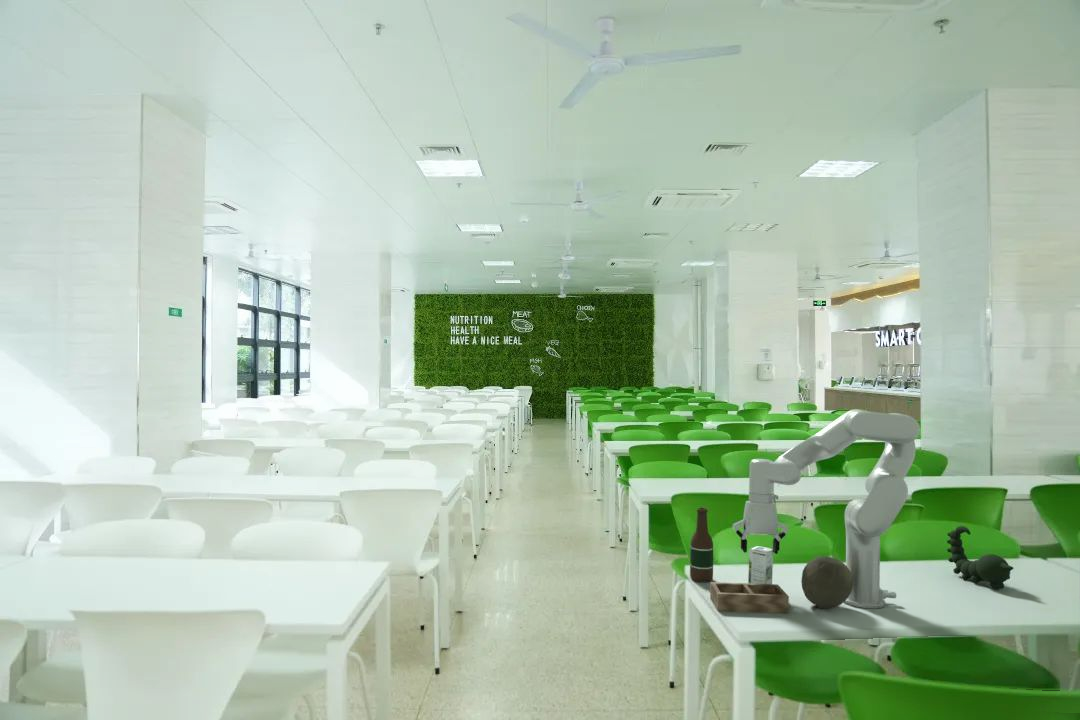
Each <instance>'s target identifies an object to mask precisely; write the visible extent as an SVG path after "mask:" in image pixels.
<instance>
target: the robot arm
mask: <svg viewBox="0 0 1080 720" xmlns="http://www.w3.org/2000/svg"><path fill="white" fill-rule="evenodd" d="M920 429H921V427H920V424H919V422H918V421H917V420H916V419H915V418H914V417H912V416H910V415H908V414H903V413H898V412H891V413H885V412H875V411H869V410H862V409H857V408H855V409H850V410H848V411H846V412H845V413H843V414H842V415H840V416H839V417H838V418H835V420H834V421H832V422H831V423H829V424H828V425H827V426H825V427H823V428H822V429H821V430H819V431H818V432H816V433H815V434H813V435H812V436H810V437H808V438H806V439H805V440H803V441H802V442H800V443H798V444H797V445H794V446H793V447H792V448H790V449H789V450H788V451H786V452H784V453H783V454H782V455H780V456H779V457H778V458H776V459H775V460H774V461H773V460H771V459H767V458H754V459H751V460H750V461H749V475H748V477H749V479H748V482H749V483H748V500H746V501H745V504H744V510H743V519H741V520H739V521H737V522H734V523H733V524H732V528H733V530H734V531H735V534H737V535H738V536H739V538H740V549H741V550H742V552H744V553H748V540H747V537H749V535H756V536H757V535H759V536H763V535H764V536H772V537H773V539H772V550H773V554H775V555H777V554H779V551H780V542H781V541H782V539H783V538H784V537H785V536H786V534H787V533H788V531H789V527H788V526H787V525H785V524H784V523H782V522H780V521H779V520H778V518H779V517H778V510H777V504H776V502H775V501H776V500H779V495H777V494H775V484H778V485H779V484H780V485H785V486H794V485H796V484H797V483H799V482H800V481H801V479H802V476H803V475H802V470H804V469H806V468H807V467H809V466H810V465H812V464H814V463H816V462H819V461H823V460H827V459H831V458H833V457H835V456H837V455H838V454H839V453H840V452H843V450H845V449H846V448H848V447H849V446H850V445H852V444H853V443H855V442H856V441H857V440H859V439H863V440H866V441H867V440H869V441H876V442H883V443H884V449H883V451H882V454H881V455H880V457H879V459H878V461H877V463H875V465H874V467H873V469H872V471H871V472H870V473H869V475H868V476H867V478H866V480H865V484H864V486H865V488H864V489H865V490H866V493H868V495H867V496H866V498H855V499H853V500H851V501H849V503H848V504H847V505H846V506H845V510H844V526H845V565H846V566H847V567H848V569H849V570H850V572H851V574H852V576H853V588H852V591H851V593H850V595H849V597H848V598H847V599H846V600H845V601H844V602H843V603H844V604H847V605H849V606H852V607H853V606H854V607H857V608H864V609H880V608H884V607H885V606H886V601H885V600H886V599H887V598H888V599H897V592H896V591H889V590H888V589H882V588H881V587H880V586H881V585H880V584H881V583H880V582H881V581H880V580H881V576H880V574H881V573H880V572H881V571H880V570H881V562H880V561H881V539H880V537H881V536H882V535H884V534H885V533H886V532H887V531H888V530H889V528H890V527H891V526H892V524H893V523H894V521H895V519H896V518H897V516H898V515H899V513H900V511H901V510H902V509H903V506H904V505H905V504H906V501H907V498H908V494H909V487H908V484H907V483H906V481H905V480H904V479H905V477H906V476H907V474H908V472H909V470H910V469H911V467H912V465H913V464H914V460H915V456H916V442H915V440H916V439H917V438H918V437H919V435H920V432H921V430H920ZM739 527H742V529H743V531H742V532H741V531H740V529H739ZM779 528H781V531H780V532H779ZM778 532H779V533H778Z"/></svg>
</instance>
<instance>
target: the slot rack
mask: <svg viewBox="0 0 1080 720" xmlns="http://www.w3.org/2000/svg"><path fill="white" fill-rule="evenodd" d="M709 583H710V587H709V588H710V589H709V599H710V601H711V602H712V604H713V606H714V607H715V610H716V611H717V612H741V613H765V614H766V613H768V614H772V613H773V614H789V607H790V606H789V603H790V599H789V598H790V597H789V594H787V593H786V592H785V590H784V589H782V587H781V586H780V585H779V584H778V583H777V584H775V583H774V584H773V583H772V584H748V582H747V583H741V582H717V581H715V582H713V581H710V582H709Z"/></svg>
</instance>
